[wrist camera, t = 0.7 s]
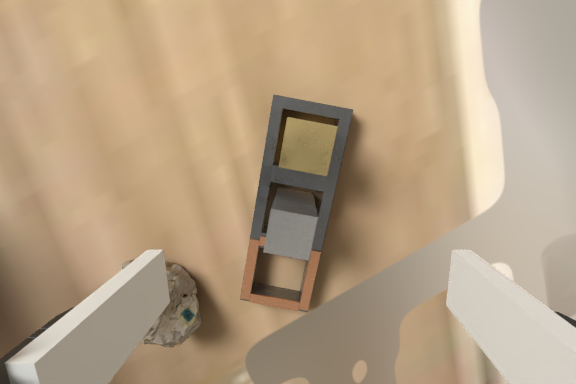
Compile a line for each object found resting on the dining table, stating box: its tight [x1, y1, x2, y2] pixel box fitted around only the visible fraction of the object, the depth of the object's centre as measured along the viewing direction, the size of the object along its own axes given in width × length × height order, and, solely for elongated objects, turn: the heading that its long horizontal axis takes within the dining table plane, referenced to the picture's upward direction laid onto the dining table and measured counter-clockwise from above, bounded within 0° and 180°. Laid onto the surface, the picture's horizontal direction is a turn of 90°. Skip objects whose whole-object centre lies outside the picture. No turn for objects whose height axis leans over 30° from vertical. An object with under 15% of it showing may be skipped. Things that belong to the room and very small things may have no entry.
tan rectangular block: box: [278, 117, 338, 176], centre depth 30 cm, size 4×4×10 cm
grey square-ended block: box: [263, 187, 318, 261], centre depth 32 cm, size 4×4×10 cm
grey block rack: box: [240, 95, 353, 312], centre depth 36 cm, size 9×26×3 cm, turn 170°
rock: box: [122, 259, 201, 347], centre depth 37 cm, size 12×7×10 cm, turn 18°
